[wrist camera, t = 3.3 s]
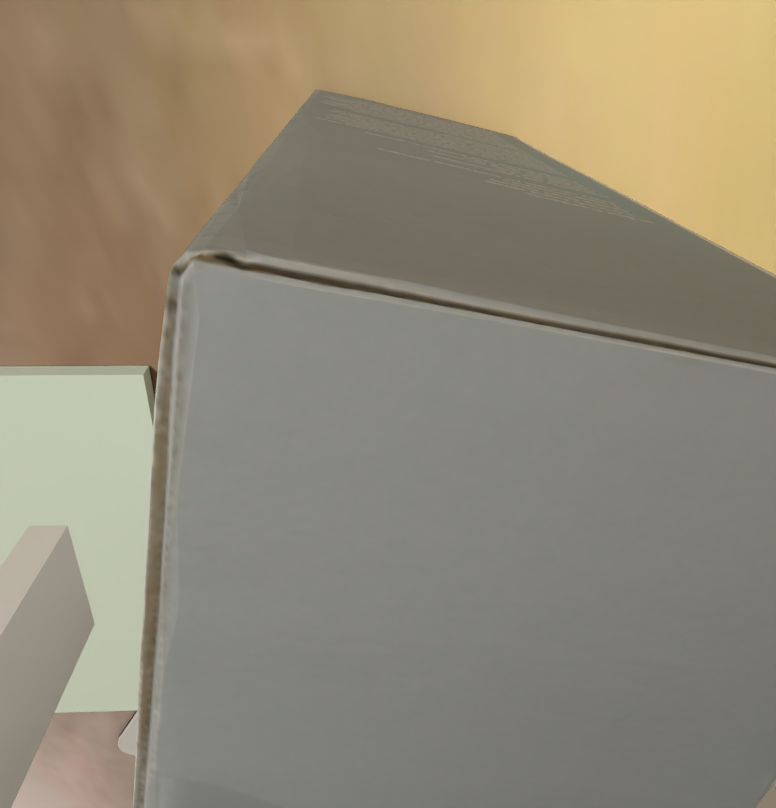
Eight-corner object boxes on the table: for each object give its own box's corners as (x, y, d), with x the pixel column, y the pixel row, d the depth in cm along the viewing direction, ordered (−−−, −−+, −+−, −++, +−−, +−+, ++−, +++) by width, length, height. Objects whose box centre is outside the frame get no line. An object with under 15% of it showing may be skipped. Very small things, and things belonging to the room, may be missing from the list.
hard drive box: (422, 490, 30) (514, 1123, 12) (253, 464, 29) (95, 1117, 11) (529, 130, 23) (1113, 442, 5) (308, 77, 21) (104, 250, 4)
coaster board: (-190, 367, 26) (-205, 376, 25) (148, 365, 26) (143, 374, 26) (-36, 702, 35) (-44, 715, 35) (208, 695, 36) (205, 708, 35)
